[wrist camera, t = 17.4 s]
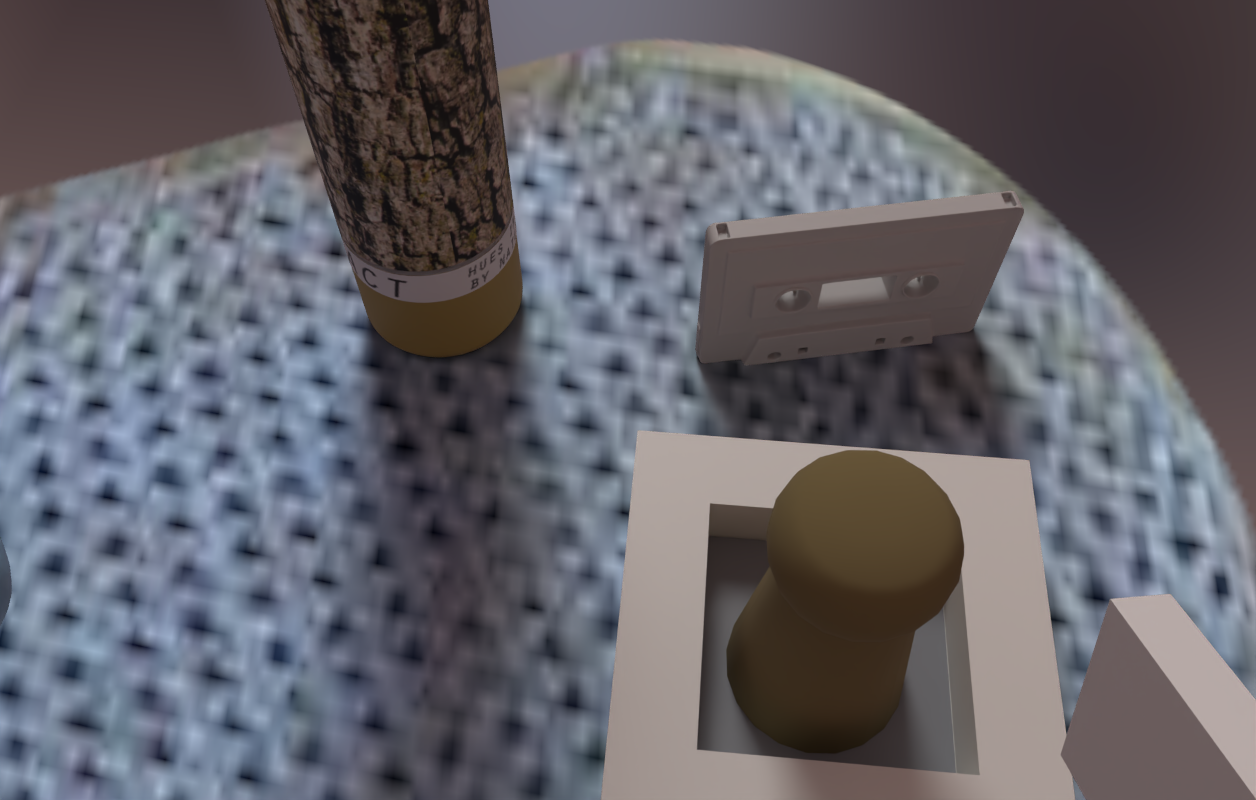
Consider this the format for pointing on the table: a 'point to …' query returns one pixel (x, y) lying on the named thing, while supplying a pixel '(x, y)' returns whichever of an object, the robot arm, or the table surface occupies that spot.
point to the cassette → (850, 277)
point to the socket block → (937, 668)
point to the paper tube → (411, 161)
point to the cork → (843, 599)
